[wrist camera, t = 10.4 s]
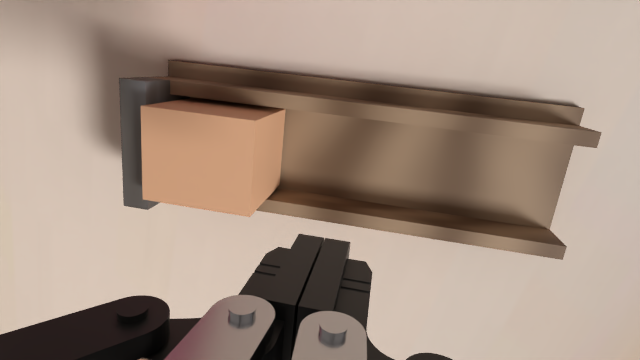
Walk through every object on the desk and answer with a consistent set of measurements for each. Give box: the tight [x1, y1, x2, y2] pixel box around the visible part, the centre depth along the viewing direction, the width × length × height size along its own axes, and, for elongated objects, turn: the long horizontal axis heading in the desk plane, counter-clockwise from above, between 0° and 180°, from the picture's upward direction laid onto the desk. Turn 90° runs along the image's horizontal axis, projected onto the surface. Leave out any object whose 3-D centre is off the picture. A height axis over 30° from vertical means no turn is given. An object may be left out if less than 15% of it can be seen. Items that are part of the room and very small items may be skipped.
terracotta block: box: [141, 98, 286, 217], centre depth 23 cm, size 6×5×6 cm
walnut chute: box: [119, 60, 601, 260], centre depth 23 cm, size 25×9×6 cm, turn 84°
